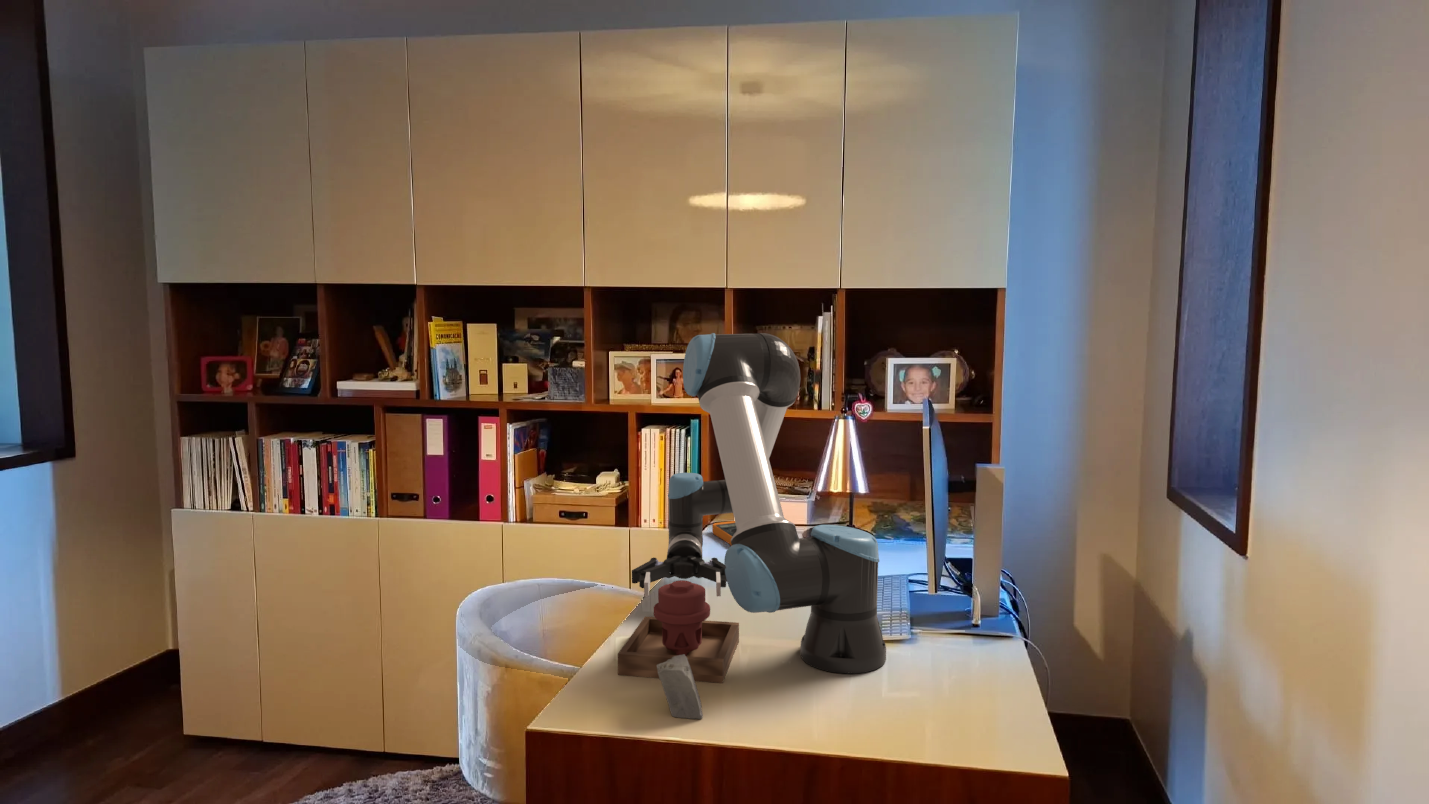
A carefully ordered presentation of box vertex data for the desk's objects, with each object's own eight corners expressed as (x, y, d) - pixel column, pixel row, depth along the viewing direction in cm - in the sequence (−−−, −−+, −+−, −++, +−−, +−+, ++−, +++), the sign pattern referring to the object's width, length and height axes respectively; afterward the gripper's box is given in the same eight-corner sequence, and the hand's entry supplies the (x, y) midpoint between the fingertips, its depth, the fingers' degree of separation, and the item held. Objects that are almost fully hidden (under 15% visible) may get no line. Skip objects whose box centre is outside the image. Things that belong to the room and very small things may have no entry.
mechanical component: (709, 640, 160) (710, 662, 150) (655, 640, 160) (652, 662, 150) (709, 574, 159) (710, 593, 149) (654, 575, 159) (651, 593, 149)
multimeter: (736, 552, 222) (736, 539, 222) (710, 534, 239) (710, 522, 238) (767, 548, 225) (767, 535, 225) (739, 531, 242) (739, 519, 241)
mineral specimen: (696, 689, 141) (700, 647, 138) (707, 725, 133) (711, 680, 131) (651, 692, 139) (654, 649, 137) (659, 729, 131) (662, 683, 129)
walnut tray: (738, 641, 163) (739, 622, 162) (722, 683, 145) (722, 661, 145) (645, 635, 166) (645, 616, 165) (617, 674, 148) (617, 653, 148)
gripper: (743, 573, 186) (748, 608, 164) (625, 574, 185) (616, 609, 164) (743, 539, 185) (748, 569, 164) (625, 539, 184) (615, 570, 163)
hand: (682, 589), depth 164 cm, fingers open, 13 cm apart
